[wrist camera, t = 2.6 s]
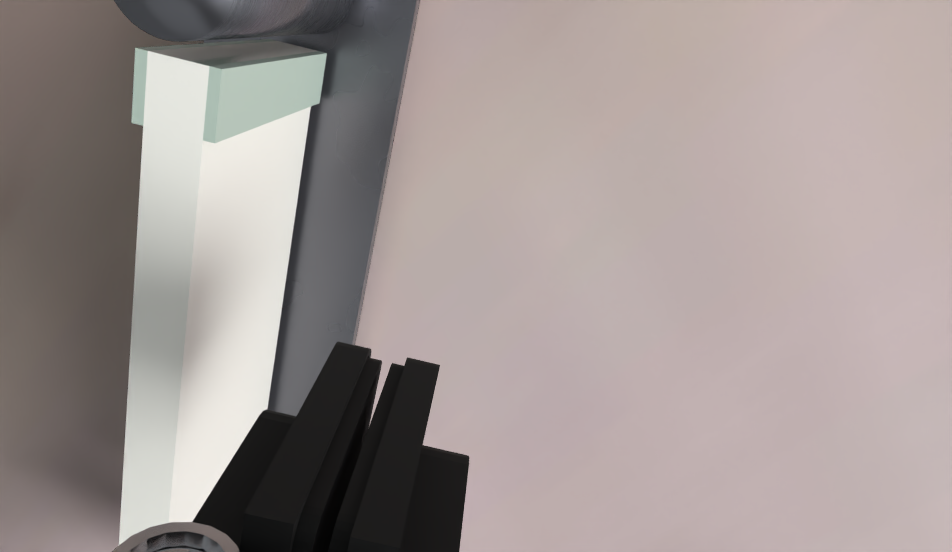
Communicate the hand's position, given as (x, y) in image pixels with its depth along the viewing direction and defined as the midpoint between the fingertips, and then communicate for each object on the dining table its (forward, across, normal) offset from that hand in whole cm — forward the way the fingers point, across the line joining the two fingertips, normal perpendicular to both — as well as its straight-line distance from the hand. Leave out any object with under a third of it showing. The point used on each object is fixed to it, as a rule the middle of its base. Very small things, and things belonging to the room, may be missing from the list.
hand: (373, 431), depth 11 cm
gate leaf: (+8, +4, +3) cm, 9 cm away
